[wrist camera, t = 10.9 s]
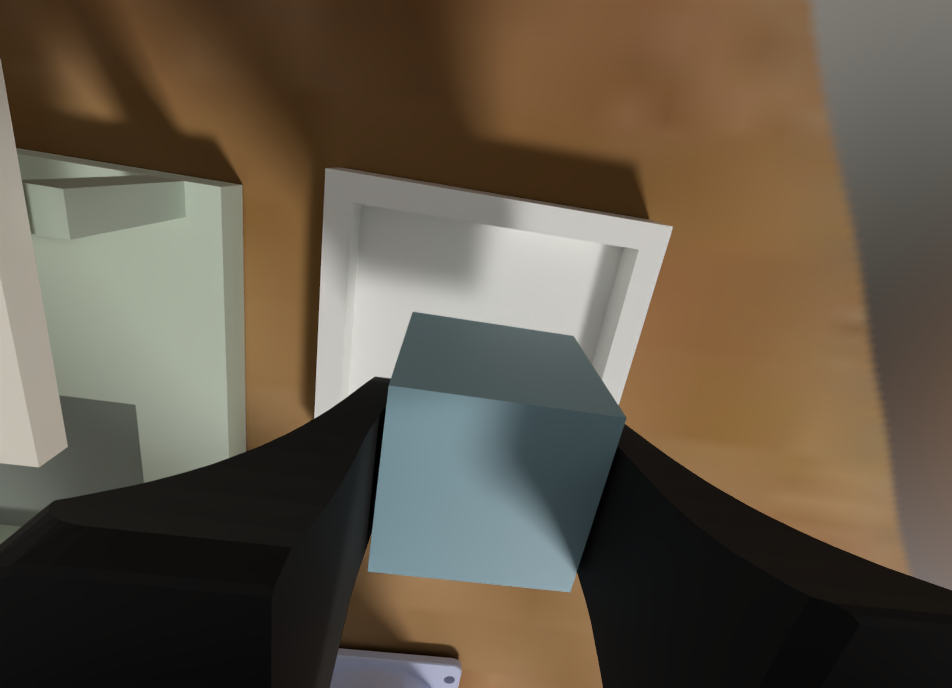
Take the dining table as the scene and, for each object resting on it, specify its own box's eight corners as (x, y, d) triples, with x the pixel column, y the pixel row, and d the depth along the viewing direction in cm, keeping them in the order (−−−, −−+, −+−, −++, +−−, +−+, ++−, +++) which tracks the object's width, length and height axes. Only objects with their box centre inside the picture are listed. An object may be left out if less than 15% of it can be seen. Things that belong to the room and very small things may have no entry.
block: (539, 469, 13) (570, 592, 9) (395, 451, 13) (367, 571, 9) (573, 335, 12) (625, 418, 8) (412, 311, 11) (388, 385, 8)
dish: (577, 471, 19) (588, 502, 17) (326, 441, 18) (311, 470, 16) (650, 219, 15) (672, 226, 14) (341, 167, 15) (325, 168, 13)
